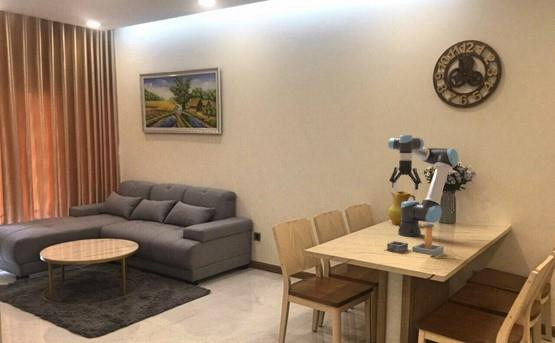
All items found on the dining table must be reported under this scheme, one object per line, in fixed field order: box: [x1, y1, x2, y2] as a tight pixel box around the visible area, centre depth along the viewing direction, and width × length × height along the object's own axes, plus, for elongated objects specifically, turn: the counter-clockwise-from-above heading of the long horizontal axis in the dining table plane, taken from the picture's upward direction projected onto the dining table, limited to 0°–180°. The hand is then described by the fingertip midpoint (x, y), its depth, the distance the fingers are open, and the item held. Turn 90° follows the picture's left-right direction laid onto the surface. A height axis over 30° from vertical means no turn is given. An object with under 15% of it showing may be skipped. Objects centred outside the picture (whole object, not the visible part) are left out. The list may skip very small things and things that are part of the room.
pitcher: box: [387, 190, 416, 226], centre depth 350 cm, size 17×19×25 cm
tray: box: [411, 242, 445, 259], centre depth 264 cm, size 13×13×4 cm
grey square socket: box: [383, 240, 412, 255], centre depth 266 cm, size 12×12×6 cm
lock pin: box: [423, 223, 435, 250], centre depth 264 cm, size 6×6×16 cm
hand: (404, 194), depth 285 cm, fingers open, 13 cm apart
